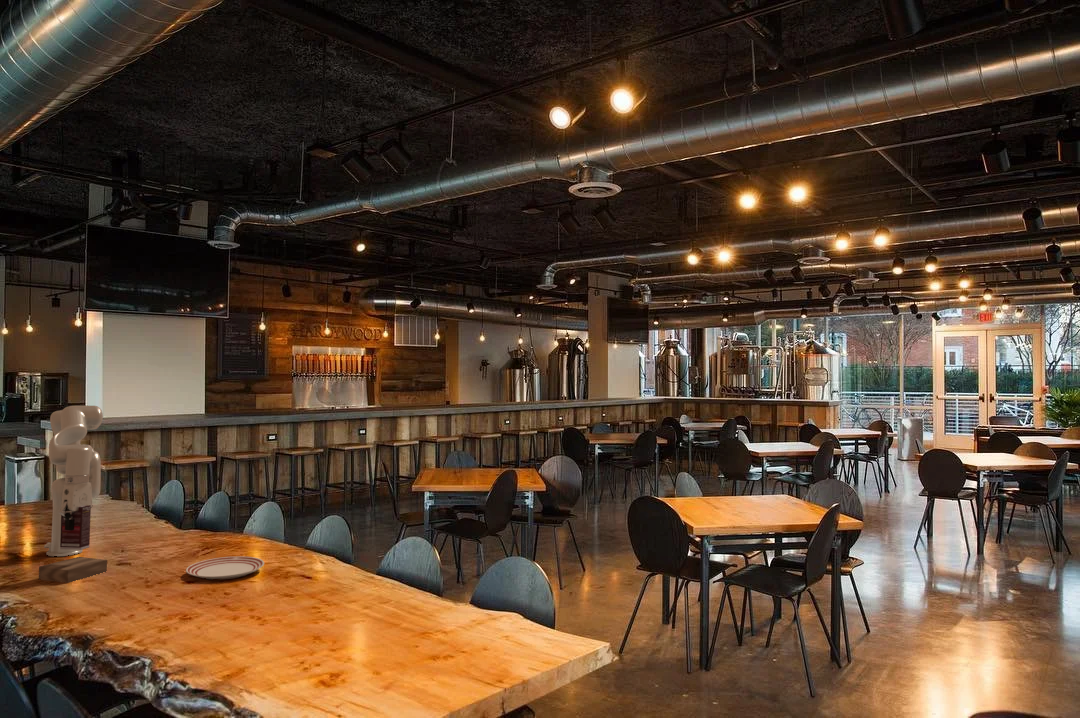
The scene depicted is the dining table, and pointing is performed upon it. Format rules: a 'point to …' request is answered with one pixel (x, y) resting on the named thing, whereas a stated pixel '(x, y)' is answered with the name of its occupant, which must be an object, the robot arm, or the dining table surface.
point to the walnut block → (72, 569)
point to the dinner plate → (225, 567)
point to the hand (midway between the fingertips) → (75, 528)
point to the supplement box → (77, 530)
